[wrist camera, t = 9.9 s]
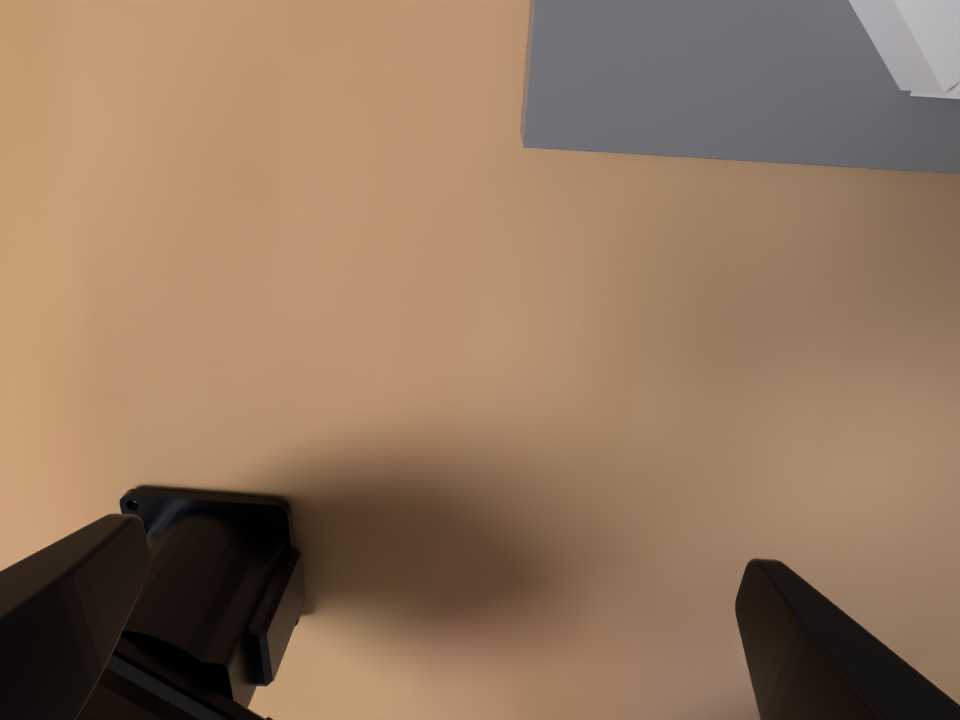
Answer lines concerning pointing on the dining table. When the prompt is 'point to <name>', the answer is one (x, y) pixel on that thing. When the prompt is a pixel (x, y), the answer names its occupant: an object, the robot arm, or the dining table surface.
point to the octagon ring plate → (748, 80)
